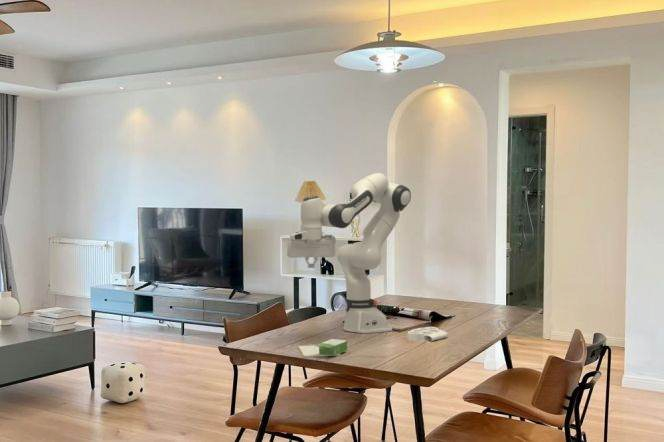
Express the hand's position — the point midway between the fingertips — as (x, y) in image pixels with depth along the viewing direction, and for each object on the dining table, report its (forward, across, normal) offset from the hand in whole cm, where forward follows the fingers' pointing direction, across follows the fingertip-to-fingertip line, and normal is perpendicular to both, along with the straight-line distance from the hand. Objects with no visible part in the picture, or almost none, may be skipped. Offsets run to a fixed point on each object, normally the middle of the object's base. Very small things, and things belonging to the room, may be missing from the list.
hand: (311, 267), depth 275 cm
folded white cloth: (+32, -50, +2) cm, 59 cm away
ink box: (+28, -8, +19) cm, 35 cm away
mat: (+31, 0, +18) cm, 36 cm away
